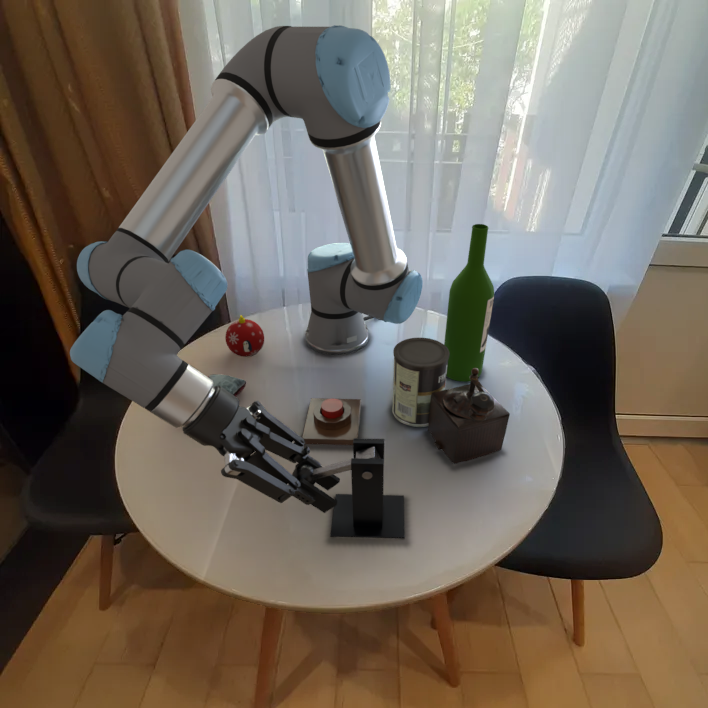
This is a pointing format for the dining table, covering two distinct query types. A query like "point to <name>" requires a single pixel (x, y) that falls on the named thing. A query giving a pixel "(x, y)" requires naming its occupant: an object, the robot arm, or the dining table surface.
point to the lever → (332, 467)
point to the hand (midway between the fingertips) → (332, 495)
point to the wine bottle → (469, 311)
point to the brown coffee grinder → (467, 421)
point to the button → (332, 408)
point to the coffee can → (417, 378)
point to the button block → (332, 424)
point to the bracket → (368, 500)
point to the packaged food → (228, 383)
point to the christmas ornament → (244, 337)
